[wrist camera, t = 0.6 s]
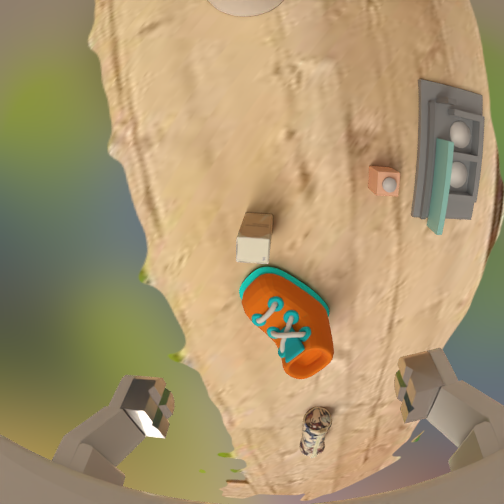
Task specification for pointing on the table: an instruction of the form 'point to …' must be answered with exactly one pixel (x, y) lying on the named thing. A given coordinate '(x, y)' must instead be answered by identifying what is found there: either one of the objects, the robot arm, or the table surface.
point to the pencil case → (314, 431)
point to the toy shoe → (289, 319)
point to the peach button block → (383, 181)
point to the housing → (465, 147)
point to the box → (254, 238)
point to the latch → (440, 185)
